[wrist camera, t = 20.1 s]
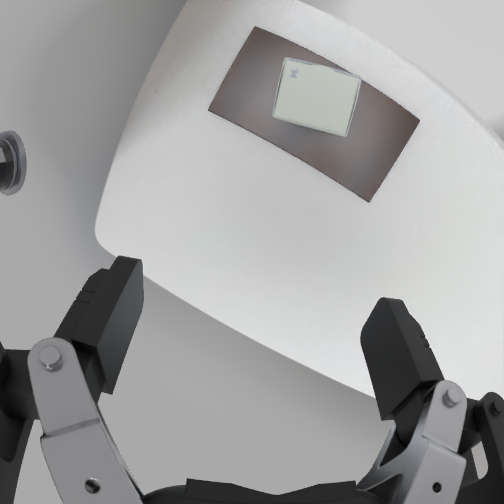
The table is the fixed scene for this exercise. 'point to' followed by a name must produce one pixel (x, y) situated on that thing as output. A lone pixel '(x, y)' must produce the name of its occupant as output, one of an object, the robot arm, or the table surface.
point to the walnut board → (305, 139)
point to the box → (316, 96)
